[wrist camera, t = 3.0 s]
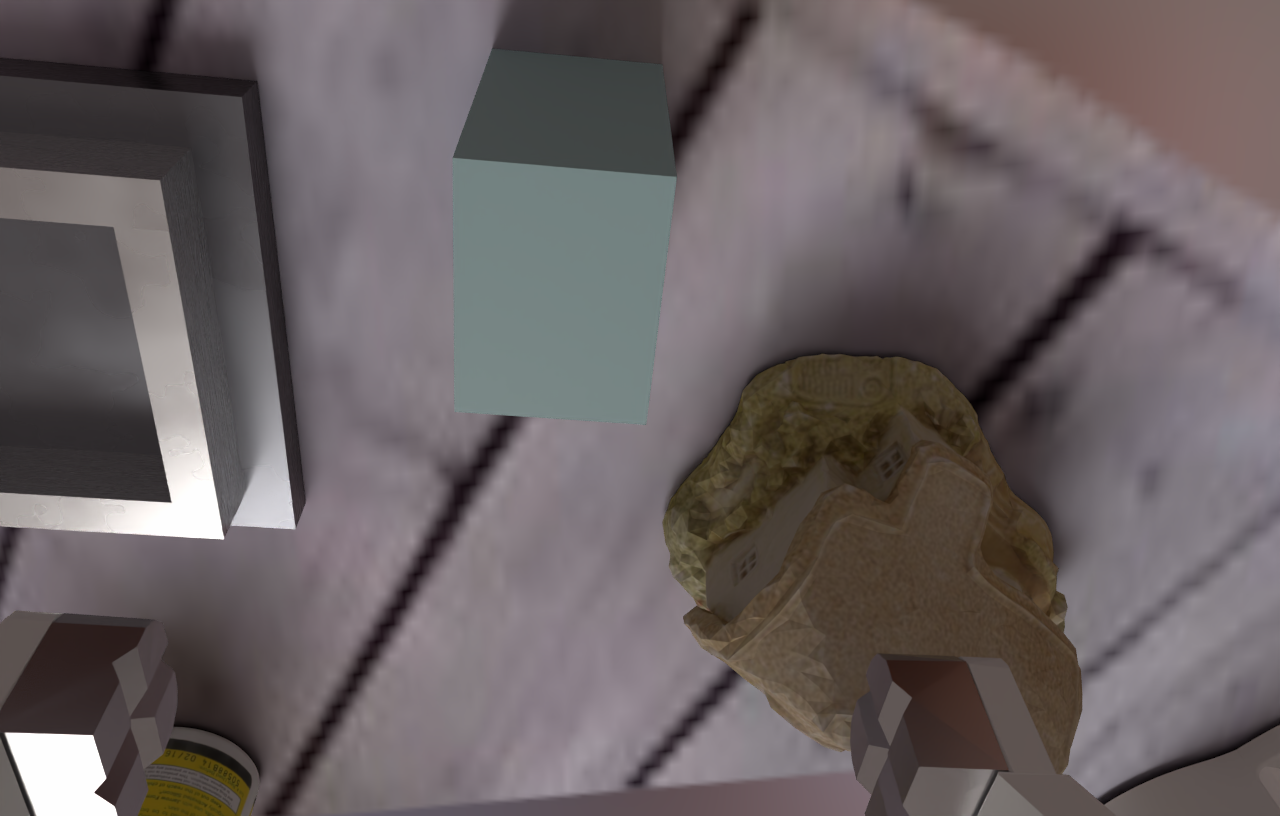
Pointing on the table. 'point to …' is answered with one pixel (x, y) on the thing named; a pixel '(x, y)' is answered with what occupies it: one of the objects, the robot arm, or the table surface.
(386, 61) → the table surface
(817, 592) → the ceramic model
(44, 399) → the collar socket
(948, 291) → the table surface
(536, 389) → the block
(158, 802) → the supplement bottle
